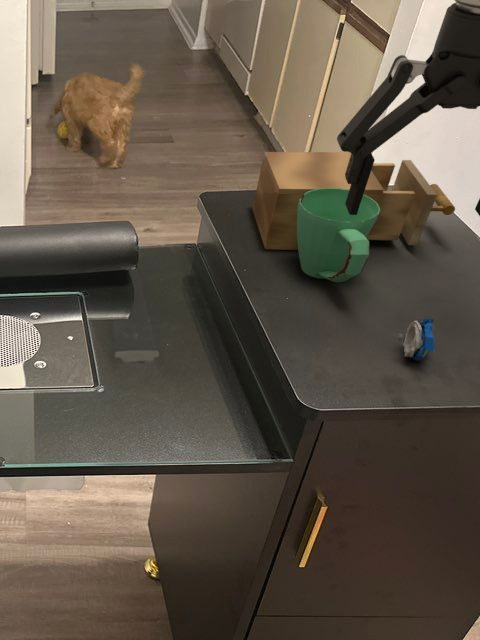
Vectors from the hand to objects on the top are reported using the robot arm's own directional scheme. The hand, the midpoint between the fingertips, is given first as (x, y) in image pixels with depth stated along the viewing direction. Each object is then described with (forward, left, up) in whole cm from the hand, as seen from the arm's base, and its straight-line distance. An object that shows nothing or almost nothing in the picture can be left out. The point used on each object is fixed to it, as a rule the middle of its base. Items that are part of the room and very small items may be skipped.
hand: (415, 212), depth 82 cm
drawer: (-6, -25, -15) cm, 29 cm away
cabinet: (+3, -25, -16) cm, 29 cm away
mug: (+3, -11, -16) cm, 19 cm away
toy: (-2, +6, -16) cm, 17 cm away
